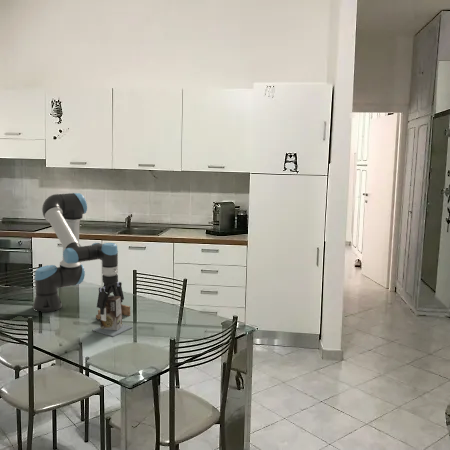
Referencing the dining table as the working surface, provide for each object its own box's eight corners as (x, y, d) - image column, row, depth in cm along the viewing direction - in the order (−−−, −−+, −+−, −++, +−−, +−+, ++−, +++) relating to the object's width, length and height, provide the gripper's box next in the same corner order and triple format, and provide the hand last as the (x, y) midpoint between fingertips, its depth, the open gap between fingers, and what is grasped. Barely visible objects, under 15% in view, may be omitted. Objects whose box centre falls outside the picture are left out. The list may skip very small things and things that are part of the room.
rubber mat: (92, 330, 254) (92, 329, 254) (112, 322, 265) (112, 321, 265) (113, 336, 247) (113, 335, 246) (132, 327, 258) (132, 326, 258)
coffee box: (122, 326, 259) (121, 296, 255) (116, 331, 252) (116, 300, 249) (106, 324, 261) (105, 294, 258) (100, 328, 255) (99, 298, 252)
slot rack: (96, 318, 270) (95, 309, 269) (114, 311, 282) (114, 302, 281) (112, 323, 264) (112, 314, 263) (130, 315, 276) (130, 306, 275)
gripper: (99, 280, 240) (100, 325, 244) (131, 270, 259) (131, 312, 263) (88, 278, 244) (89, 322, 248) (119, 268, 263) (120, 309, 267)
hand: (110, 317), depth 255 cm, fingers open, 9 cm apart
